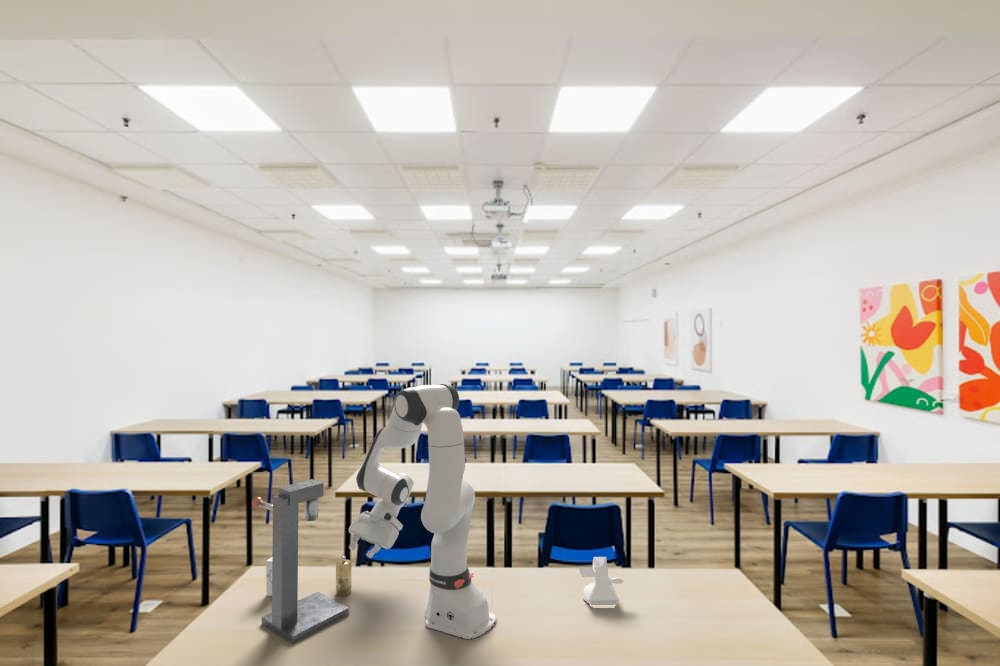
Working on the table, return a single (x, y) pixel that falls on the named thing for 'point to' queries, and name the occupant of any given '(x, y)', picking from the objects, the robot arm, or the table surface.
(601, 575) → the white irregular piece
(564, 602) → the table surface
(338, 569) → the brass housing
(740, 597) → the table surface
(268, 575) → the ink cartridge box
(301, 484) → the bench press
